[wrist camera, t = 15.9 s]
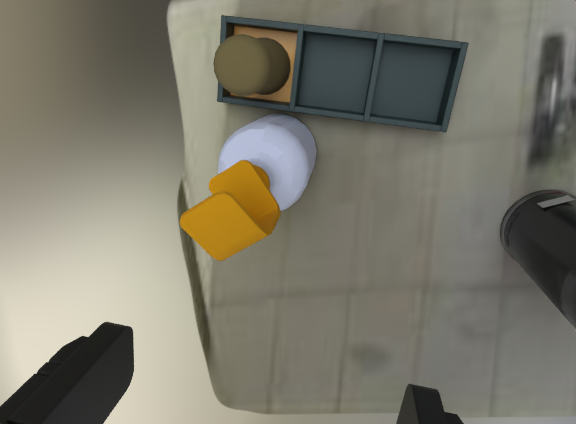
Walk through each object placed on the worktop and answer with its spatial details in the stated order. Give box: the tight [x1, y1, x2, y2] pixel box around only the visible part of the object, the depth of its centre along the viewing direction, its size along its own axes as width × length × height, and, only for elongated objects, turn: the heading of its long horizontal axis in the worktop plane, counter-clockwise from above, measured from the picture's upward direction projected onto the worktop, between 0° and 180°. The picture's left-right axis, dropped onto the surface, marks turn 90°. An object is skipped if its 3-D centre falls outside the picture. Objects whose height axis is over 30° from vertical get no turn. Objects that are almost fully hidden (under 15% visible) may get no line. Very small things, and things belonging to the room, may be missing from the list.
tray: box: [217, 15, 468, 132], centre depth 42 cm, size 25×9×3 cm, turn 84°
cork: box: [214, 34, 291, 96], centre depth 39 cm, size 6×6×11 cm
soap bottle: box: [180, 114, 317, 261], centre depth 36 cm, size 9×9×25 cm
